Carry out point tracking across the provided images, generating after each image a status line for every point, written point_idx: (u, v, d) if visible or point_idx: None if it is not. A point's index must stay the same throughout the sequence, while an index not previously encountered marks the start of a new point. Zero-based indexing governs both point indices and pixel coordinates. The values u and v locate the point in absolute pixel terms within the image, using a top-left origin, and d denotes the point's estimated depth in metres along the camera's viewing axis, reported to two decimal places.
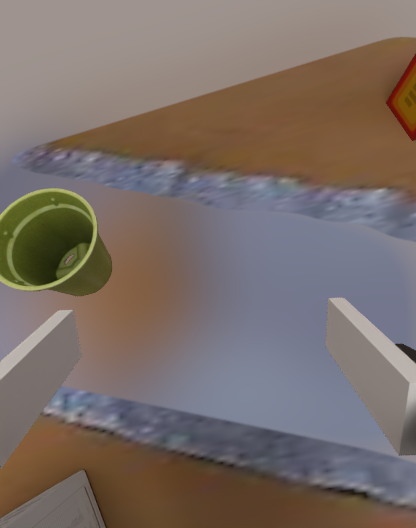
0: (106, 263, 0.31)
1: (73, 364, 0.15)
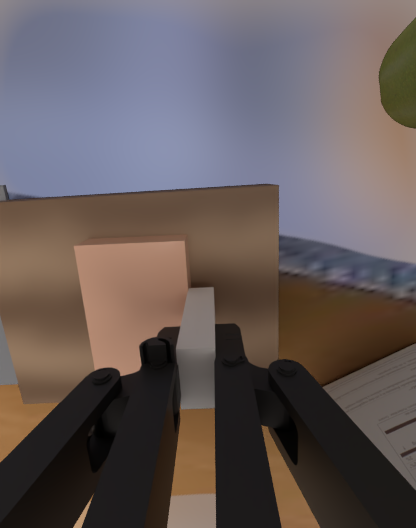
0: None
1: None
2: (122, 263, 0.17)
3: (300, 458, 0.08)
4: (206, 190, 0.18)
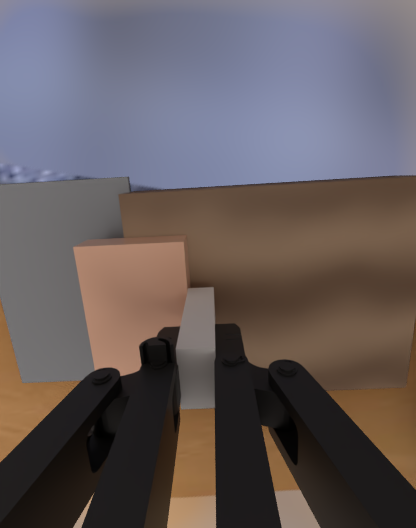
0: None
1: None
2: (121, 264, 0.17)
3: (300, 458, 0.08)
4: (360, 180, 0.17)
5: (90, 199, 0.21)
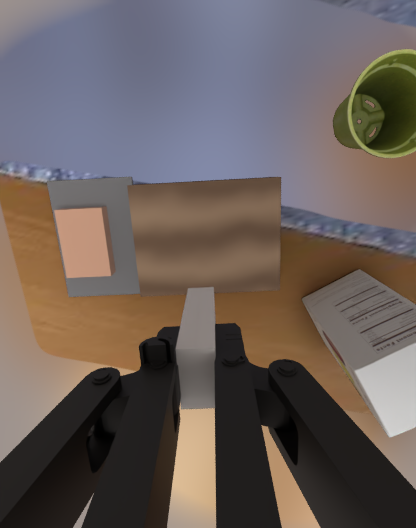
0: None
1: None
2: None
3: (300, 458, 0.08)
4: (245, 179, 0.36)
5: (110, 189, 0.40)
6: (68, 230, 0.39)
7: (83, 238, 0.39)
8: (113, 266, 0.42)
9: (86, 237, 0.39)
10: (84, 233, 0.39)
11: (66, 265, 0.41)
